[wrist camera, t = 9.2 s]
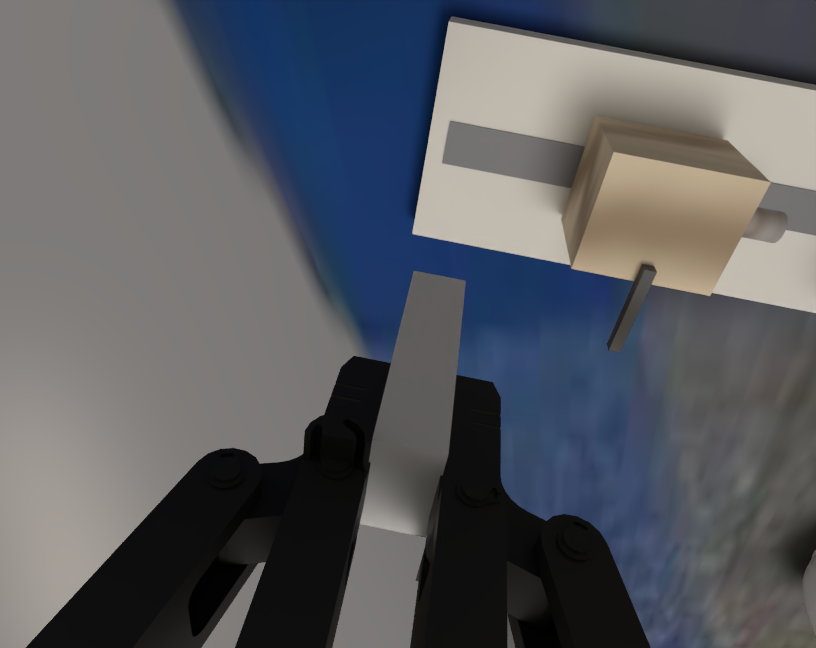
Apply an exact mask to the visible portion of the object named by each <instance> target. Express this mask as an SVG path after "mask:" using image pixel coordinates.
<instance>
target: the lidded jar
mask: <svg viewBox="0 0 816 648" xmlns="http://www.w3.org/2000/svg"><path fill="white" fill-rule="evenodd" d="M802 592H803V600H804V606H805V609H806V612H807V616H808V619H809V621H810V624H811V626H812V629H813V631H814V634H815V636H816V549H815V551H814V552H813V554H812V559H811V561H810V562H809V564H808V566H807V568H806V570H805V573H804V577H803V582H802Z"/></svg>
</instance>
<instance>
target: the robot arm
mask: <svg viewBox="0 0 816 648" xmlns="http://www.w3.org/2000/svg"><path fill="white" fill-rule="evenodd" d="M465 283H466V281H464V280H459V279H453V278H448V277H443V276H438V275H433V274H428V273H423V272H418V271H414V273H413V277H412V281H411V285H410V289H409V293H408V297H407V301H406V305H405V309H404V313H403V317H402V321H401V325H400V329H399V333H398V337H397V341H396V345H395V349H394V353H393V357H392V362H391V363H387V362H382V361H377V360H372V359H367V358H362V357H357V356H353V357H352V358H351V359H350V360H349V361H348V362H347V363H345V364H344V365H343V366H342V367H341V369H340V372H339V375H338V378H337V381H336V384H335V386H334V389H333V392H332V395H331V398H330V400H329V403H328V406H327V409H326V412H325V414H324V415H323V416H320V417H318V418H317V419H315V420H314V421H312V422H311V423H310V424H309V426H308V427H307V428H306V430H305V437H304V454H302V455H301V456H299V457H297V458H295V459H292V460H289V461H285V462H278V463H264V464H259V462H258V461H257V459H256V457H254V456H253V455H251V454H250V453H248V452H247V451H244V450H240V449H235V448H229V449H220V450H217V451H214V452H211V453H208V454H207V455H206V456H204V457H203V458H202V459H200V460H199V461H198V462H197V463H196V464H195V465H194V466H193V467H192V468H191V469H190V471H188V473H187V474H186V475H185V476H184V477H183V478H182V479H181V480H180V481H179V482H178V484H176V486H175V487H174V488H173V489H172V490H171V491H170V492H169V493H168V494H167V495H166V497H165V498H164V499H163V500H162V501H161V502H160V503H159V504H158V505H157V506H156V507H155V508H154V509H153V510H152V512H151V513H150V514H149V515H148V516H147V517H146V518H145V519H144V520H143V521H142V522H141V523H140V525H139V526H138V527H137V528H136V529H135V530H134V531H133V532H132V533H131V534H130V535H129V536H128V538H127V539H126V540H125V541H124V542H123V543H122V544H121V545H120V546H119V547H118V548H117V549H116V550H115V552H114V553H113V554H112V555H111V556H110V557H109V558H108V559H107V560H106V561H105V562H104V564H103V565H102V566H101V567H100V568H99V569H98V570H97V571H96V572H95V573H94V574H93V576H92V577H91V578H90V579H89V580H88V581H87V582H86V583H85V584H84V585H83V586H82V587H81V588H80V590H79V591H78V592H77V593H76V594H75V595H74V596H73V597H72V598H71V599H70V600H69V602H67V604H66V605H65V606H64V607H63V608H62V609H61V610H60V611H59V612H58V614H56V615H55V616H54V618H53V619H52V620H51V621H50V622H49V623H48V624H47V625H46V626H45V627H44V628H43V629H42V631H41V632H40V633H39V634H38V635H37V636H36V637H35V638H34V639H33V640H32V641H31V643H30V644H29V645H28V646H27V647H26V648H201V647H202V646H203V644H204V643H205V641H206V640H207V638H208V637H209V635H210V634H211V632H212V631H213V629H214V628H215V627H216V625H217V624H218V622H219V621H220V619H221V618H222V616H223V615H224V613H225V612H226V610H227V609H228V607H229V606H230V604H231V603H232V601H233V600H234V598H235V597H236V595H237V594H238V592H239V591H240V589H241V588H242V586H243V585H244V584H245V582H246V581H247V579H248V578H249V576H250V575H251V573H252V572H253V570H254V569H255V567H256V565H257V564H258V563H261V562H266V564H265V566H264V569H263V572H262V575H261V577H260V580H259V583H258V586H257V588H256V591H255V594H254V597H253V599H252V602H251V605H250V608H249V611H248V613H247V616H246V619H245V622H244V624H243V627H242V630H241V633H240V636H239V638H238V641H237V644H236V647H235V648H332V646H333V642H334V638H335V633H336V628H337V625H338V620H339V615H340V611H341V607H342V603H343V598H344V594H345V590H346V585H347V580H348V576H349V572H350V567H351V563H352V559H353V554H354V550H355V545H356V539H357V533H358V529H359V524H363V525H368V526H373V527H377V528H383V529H388V530H392V531H397V532H402V533H407V534H412V535H416V536H421V537H426V534H427V537H426V545H425V549H424V553H423V556H422V560H421V564H420V567H419V571H418V575H417V578H416V581H419V583H418V590H417V598H416V606H415V615H414V622H413V630H412V638H411V645H410V648H507V613H508V618H509V623H510V627H511V631H512V635H513V639H514V643H515V648H650V645H649V643H648V640H647V638H646V636H645V633H644V631H643V628H642V626H641V624H640V621H639V619H638V616H637V614H636V612H635V609H634V607H633V604H632V602H631V600H630V597H629V595H628V592H627V590H626V588H625V585H624V583H623V580H622V578H621V576H620V573H619V571H618V568H617V566H616V564H615V561H614V559H613V556H612V554H611V552H610V549H609V547H608V545H607V543H606V541H605V539H604V538H603V536H602V535H601V533H600V532H599V531H598V530H597V529H596V528H595V527H594V526H593V525H591V524H590V523H589V522H587V521H585V520H583V519H581V518H579V517H577V516H572V515H566V514H562V515H557V516H553V517H551V518H550V519H549V520H547V521H545V520H543V519H541V518H539V517H537V516H535V515H533V514H531V513H529V512H527V511H526V510H524V509H522V508H521V507H519V506H518V505H517V504H516V503H515V502H514V501H512V500H511V499H510V497H509V496H508V495H507V493H506V492H505V490H504V488H503V485H502V483H501V476H500V452H501V430H500V427H501V417H500V414H501V398H500V396H499V394H498V392H497V390H496V388H495V386H494V384H493V382H489V381H484V380H479V379H474V378H469V377H464V376H459V375H456V374H457V363H458V353H459V343H460V333H461V323H462V313H463V303H464V293H465Z"/></svg>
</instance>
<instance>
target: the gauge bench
mask: <svg viewBox="0 0 816 648" xmlns="http://www.w3.org/2000/svg"><path fill="white" fill-rule="evenodd" d="M595 115H597V116H602V117H607V118H612V119H618V120H623V121H628V122H633V123H639V124H644V125H649V126H654V127H660V128H665V129H670V130H675V131H681V132H686V133H691V134H696V135H701V136H707V137H712V138H717V139H722V140H728V141H729V142H730V143H731V144H732V145H733V146H734V147H735V148H736V149H737V150H738V151H739V152H740V153H741V154H742V155H743V156H744V157H745V158H746V159H747V160H748V161H749V162H751V163H752V164H753V165H754V166H755V167H756V168H757V169H758V170H759V171H760V172H761V173H762V174H763V175H764V176H765V177H766V178H767V179H768V180H769V181H770V182H771V183H770V185H769V187H768V189H767V191H766V193H765V195H764V196H763V198H762V200H761V202H760V204H759V206H758V207H760V208H765V209H770V210H775V211H781V212H785V213H786V215H787V218H788V223H787V228H786V231H785V233H784V235H783V236H782V238H781V239H780V240H779V241H777V242H776V243H769V242H764V241H759V240H754V239H748V238H743V237H741V239H740V241H739V243H738V245H737V247H736V249H735V250H734V252H733V254H732V256H731V258H730V260H729V262H728V263H727V265H726V267H725V269H724V271H723V273H722V275H721V276H720V278H719V280H718V282H717V284H716V286H715V288H714V289H713V291H712V293H716V294H721V295H726V296H731V297H736V298H741V299H747V300H752V301H757V302H762V303H767V304H772V305H777V306H782V307H787V308H792V309H798V310H803V311H808V312H813V313H816V85H814V84H809V83H803V82H798V81H793V80H787V79H782V78H777V77H772V76H766V75H761V74H756V73H750V72H745V71H740V70H734V69H729V68H724V67H718V66H713V65H708V64H703V63H697V62H692V61H687V60H681V59H676V58H671V57H665V56H660V55H655V54H649V53H644V52H639V51H634V50H628V49H623V48H618V47H612V46H607V45H602V44H596V43H591V42H586V41H580V40H575V39H570V38H565V37H559V36H554V35H549V34H543V33H538V32H533V31H527V30H522V29H517V28H511V27H506V26H501V25H496V24H490V23H485V22H480V21H474V20H469V19H464V18H458V17H453V16H451V18H450V20H449V23H448V29H447V34H446V40H445V46H444V52H443V58H442V64H441V69H440V75H439V81H438V87H437V93H436V99H435V104H434V110H433V116H432V122H431V128H430V134H429V139H428V145H427V151H426V157H425V163H424V169H423V175H422V180H421V186H420V192H419V198H418V204H417V210H416V215H415V221H414V227H413V233H412V234H415V235H420V236H425V237H431V238H436V239H441V240H446V241H451V242H456V243H461V244H466V245H471V246H476V247H482V248H487V249H492V250H497V251H502V252H507V253H512V254H517V255H522V256H527V257H533V258H538V259H543V260H548V261H553V262H558V263H563V264H568V265H571V264H570V259H569V255H568V250H567V245H566V240H565V235H564V230H563V225H562V221H561V218H562V215H563V212H564V209H565V206H566V203H567V200H568V197H569V194H570V191H571V188H572V185H573V182H574V179H575V175H576V172H577V169H578V166H579V163H580V160H581V157H582V154H583V151H584V148H585V145H586V142H587V139H588V136H589V133H590V130H591V127H592V124H593V121H594V118H595Z"/></svg>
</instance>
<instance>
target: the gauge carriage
mask: <svg viewBox="0 0 816 648" xmlns="http://www.w3.org/2000/svg"><path fill="white" fill-rule="evenodd" d="M770 183H771V182H770V181H769V180H768V179H767V178H766V177H765V176H764V175H763V174H762V173H761V172H760V171H759V170H758V169H757V168H756V167H755V166H754V165H753V164H752V163H751V162H749V161H748V160H747V159H746V158H745V157H744V156H743V155H742V154H741V153H740V152H739V151H738V150H737V149H736V148H735V147H734V146H733V145H732V144H731V143H730V142H729V141H728V140H722V139H717V138H712V137H707V136H701V135H696V134H691V133H686V132H681V131H675V130H670V129H665V128H660V127H654V126H649V125H644V124H639V123H633V122H628V121H623V120H618V119H612V118H607V117H602V116H597V115H595V118H594V121H593V124H592V127H591V130H590V133H589V136H588V139H587V142H586V145H585V148H584V151H583V154H582V157H581V160H580V163H579V166H578V169H577V172H576V175H575V179H574V182H573V185H572V188H571V191H570V194H569V197H568V200H567V203H566V206H565V209H564V212H563V215H562V218H561V221H562V225H563V230H564V235H565V240H566V245H567V250H568V255H569V259H570V264H571V269H575V270H581V271H586V272H591V273H596V274H601V275H606V276H611V277H616V278H621V279H626V280H631V281H634V284H633V286H632V288H631V290H630V293H629V295H628V297H627V300H626V302H625V304H624V306H623V309H622V311H621V313H620V315H619V318H618V320H617V322H616V325H615V327H614V329H613V331H612V334H611V336H610V338H609V340H608V343H607V346H608V350H609V351H613V352H618V353H620V351H621V349H622V347H623V345H624V343H625V341H626V338H627V336H628V334H629V332H630V330H631V328H632V325H633V323H634V321H635V319H636V317H637V315H638V312H639V310H640V308H641V306H642V304H643V302H644V299H645V297H646V295H647V293H648V291H649V289H650V286H651V284H652V285H657V286H662V287H667V288H672V289H677V290H682V291H688V292H693V293H698V294H703V295H708V296H710V295H711V293H712V291H713V289H714V288H715V286H716V284H717V282H718V280H719V278H720V276H721V275H722V273H723V271H724V269H725V267H726V265H727V263H728V262H729V260H730V258H731V256H732V254H733V252H734V250H735V249H736V247H737V245H738V243H739V241H740V239H741V237H743V238H748V239H754V240H759V241H764V242H769V243H776V242H777V241H779V240H780V239H781V238H782V236H783V235H784V233H785V231H786V228H787V223H788V218H787V215H786V213H785V212H781V211H775V210H770V209H765V208H760V207H758V206H759V204H760V202H761V200H762V198H763V196H764V195H765V193H766V191H767V189H768V187H769V185H770Z"/></svg>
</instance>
